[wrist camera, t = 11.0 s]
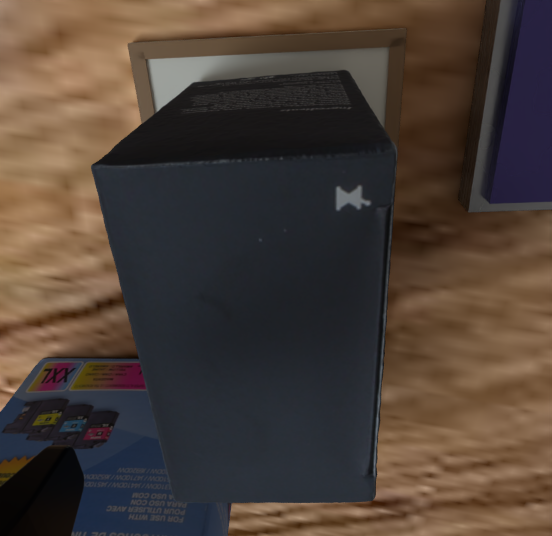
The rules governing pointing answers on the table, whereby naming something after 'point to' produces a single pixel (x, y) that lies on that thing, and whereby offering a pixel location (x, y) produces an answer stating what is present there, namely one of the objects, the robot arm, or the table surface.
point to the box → (258, 283)
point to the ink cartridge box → (103, 448)
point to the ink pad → (511, 111)
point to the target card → (275, 65)
